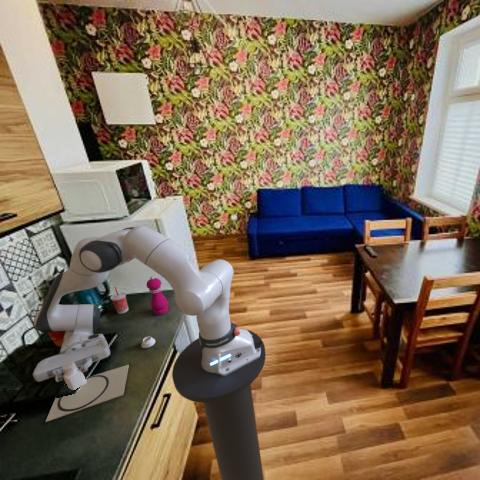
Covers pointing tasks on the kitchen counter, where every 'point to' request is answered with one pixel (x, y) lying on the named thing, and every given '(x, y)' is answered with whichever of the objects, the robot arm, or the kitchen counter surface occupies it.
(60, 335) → the paper cup
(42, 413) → the kitchen counter surface
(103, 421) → the kitchen counter surface
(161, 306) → the pepper mill
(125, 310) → the beverage cup
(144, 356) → the kitchen counter surface
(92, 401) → the drawing sheet
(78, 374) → the pepper shaker
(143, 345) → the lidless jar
